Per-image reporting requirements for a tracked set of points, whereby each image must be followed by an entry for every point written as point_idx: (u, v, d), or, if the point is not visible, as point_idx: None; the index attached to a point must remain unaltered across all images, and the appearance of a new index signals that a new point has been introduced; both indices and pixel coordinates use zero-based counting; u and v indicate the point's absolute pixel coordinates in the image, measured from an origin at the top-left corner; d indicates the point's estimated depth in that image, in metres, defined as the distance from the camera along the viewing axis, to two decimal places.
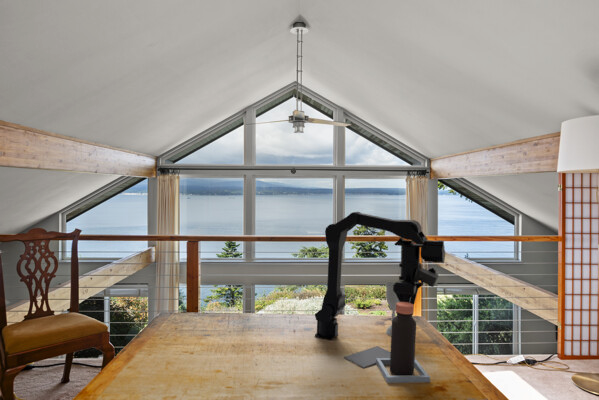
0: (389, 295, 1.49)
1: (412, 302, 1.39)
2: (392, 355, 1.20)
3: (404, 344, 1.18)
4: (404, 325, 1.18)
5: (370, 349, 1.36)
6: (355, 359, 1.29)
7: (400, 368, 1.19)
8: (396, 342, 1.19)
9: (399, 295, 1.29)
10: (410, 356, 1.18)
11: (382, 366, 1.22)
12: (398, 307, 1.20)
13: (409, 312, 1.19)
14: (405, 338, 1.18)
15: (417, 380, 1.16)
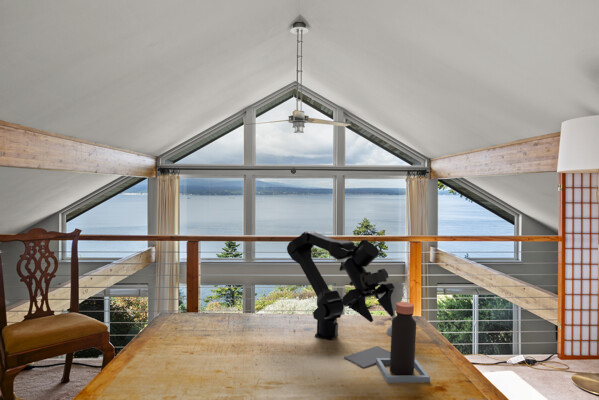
0: None
1: (390, 313, 1.31)
2: (392, 355, 1.20)
3: (404, 344, 1.18)
4: (404, 325, 1.18)
5: (370, 349, 1.36)
6: (355, 359, 1.29)
7: (400, 368, 1.19)
8: (396, 342, 1.19)
9: (355, 308, 1.27)
10: (410, 356, 1.18)
11: (382, 366, 1.22)
12: (398, 307, 1.20)
13: (409, 312, 1.19)
14: (405, 338, 1.18)
15: (417, 380, 1.16)
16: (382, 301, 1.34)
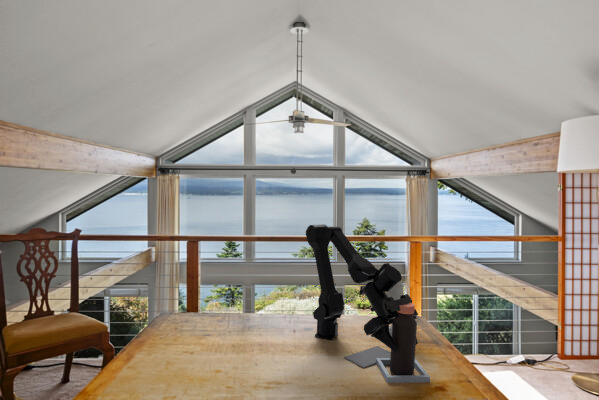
0: (389, 295, 1.49)
1: None
2: (392, 355, 1.20)
3: (404, 344, 1.18)
4: (405, 324, 1.18)
5: (370, 349, 1.36)
6: (355, 359, 1.29)
7: (400, 368, 1.19)
8: (396, 341, 1.19)
9: (378, 337, 1.21)
10: (410, 355, 1.18)
11: (382, 366, 1.22)
12: None
13: (410, 312, 1.19)
14: (406, 338, 1.18)
15: (417, 380, 1.16)
16: None
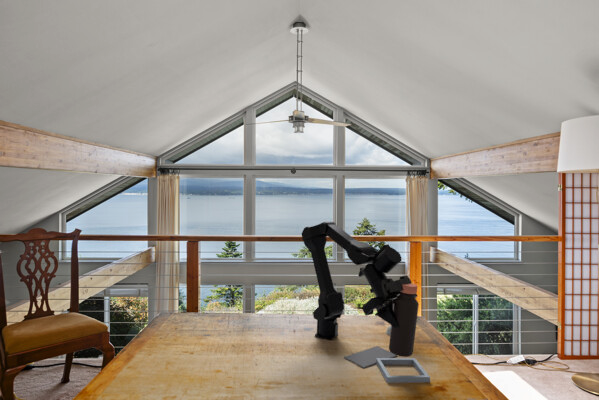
0: None
1: None
2: (392, 334, 1.21)
3: (405, 323, 1.18)
4: (407, 304, 1.18)
5: (370, 349, 1.36)
6: (355, 359, 1.29)
7: (400, 347, 1.19)
8: (397, 320, 1.20)
9: (382, 316, 1.22)
10: (410, 335, 1.19)
11: (382, 366, 1.22)
12: None
13: (412, 292, 1.19)
14: (407, 317, 1.18)
15: (417, 380, 1.16)
16: None
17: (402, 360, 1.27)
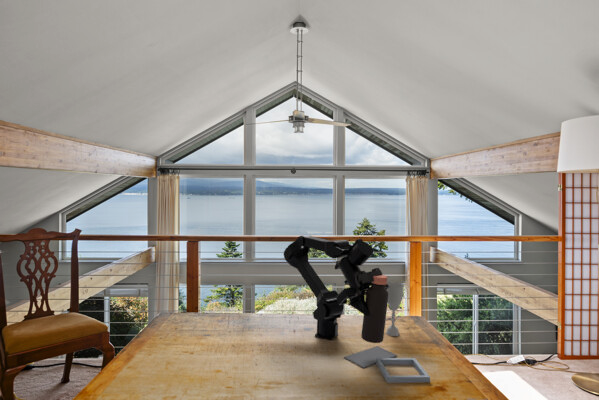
0: (389, 295, 1.49)
1: None
2: (364, 322, 1.30)
3: (375, 311, 1.27)
4: (377, 294, 1.27)
5: (370, 349, 1.36)
6: (355, 359, 1.29)
7: (370, 334, 1.28)
8: (368, 309, 1.28)
9: (355, 305, 1.31)
10: (380, 323, 1.28)
11: (382, 366, 1.22)
12: None
13: (382, 283, 1.28)
14: (377, 306, 1.27)
15: (417, 380, 1.16)
16: None
17: (402, 360, 1.27)
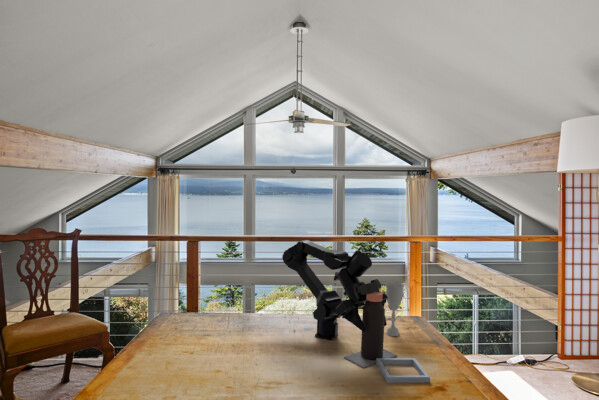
0: (389, 295, 1.49)
1: None
2: (362, 340, 1.30)
3: (373, 329, 1.27)
4: (373, 311, 1.27)
5: None
6: (355, 359, 1.29)
7: (369, 351, 1.28)
8: (365, 327, 1.29)
9: (349, 318, 1.30)
10: (378, 340, 1.28)
11: (382, 366, 1.22)
12: (368, 295, 1.29)
13: (378, 300, 1.28)
14: (374, 324, 1.27)
15: (417, 380, 1.16)
16: None
17: (402, 360, 1.27)
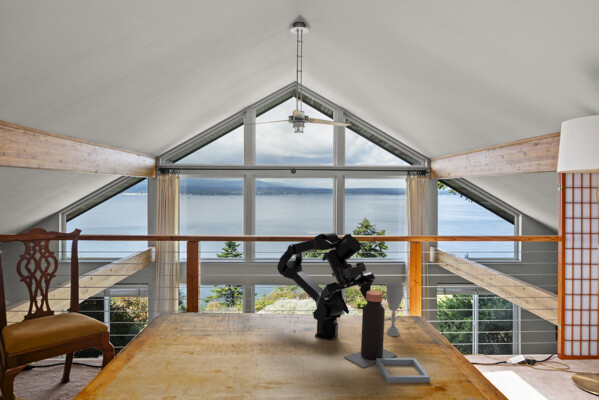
0: (389, 295, 1.49)
1: None
2: (362, 340, 1.30)
3: (373, 329, 1.28)
4: (373, 311, 1.27)
5: None
6: (355, 359, 1.29)
7: (369, 351, 1.28)
8: (365, 327, 1.29)
9: (334, 300, 1.37)
10: (378, 340, 1.28)
11: (382, 366, 1.22)
12: (368, 295, 1.29)
13: (378, 300, 1.28)
14: (374, 324, 1.27)
15: (417, 380, 1.16)
16: (363, 290, 1.41)
17: (402, 360, 1.27)
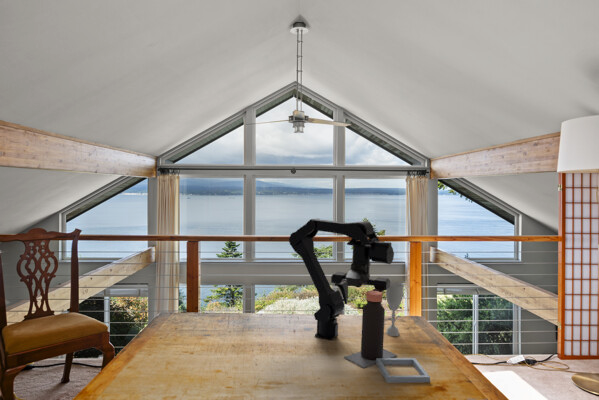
0: (389, 295, 1.49)
1: None
2: (362, 340, 1.30)
3: (373, 329, 1.28)
4: (373, 311, 1.27)
5: None
6: (355, 359, 1.29)
7: (369, 351, 1.28)
8: (365, 327, 1.29)
9: None
10: (378, 340, 1.28)
11: (382, 366, 1.22)
12: (368, 295, 1.29)
13: (378, 300, 1.28)
14: (374, 324, 1.27)
15: (417, 380, 1.16)
16: None
17: (402, 360, 1.27)
